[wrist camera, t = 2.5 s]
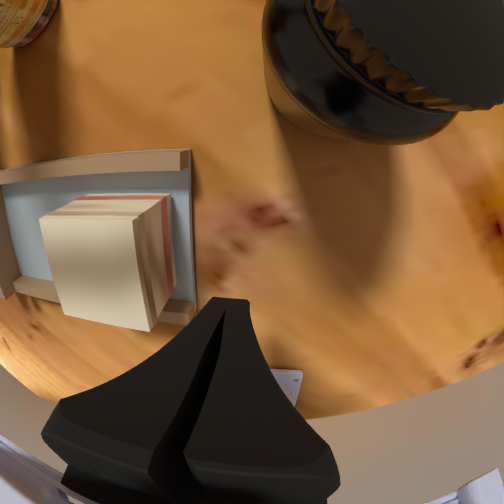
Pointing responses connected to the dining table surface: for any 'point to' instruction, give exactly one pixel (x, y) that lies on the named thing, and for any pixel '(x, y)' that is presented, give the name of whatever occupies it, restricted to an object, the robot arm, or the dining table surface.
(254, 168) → the dining table surface
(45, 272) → the bay
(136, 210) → the red striped cream box
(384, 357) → the dining table surface
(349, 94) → the supplement bottle
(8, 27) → the sauce bottle
